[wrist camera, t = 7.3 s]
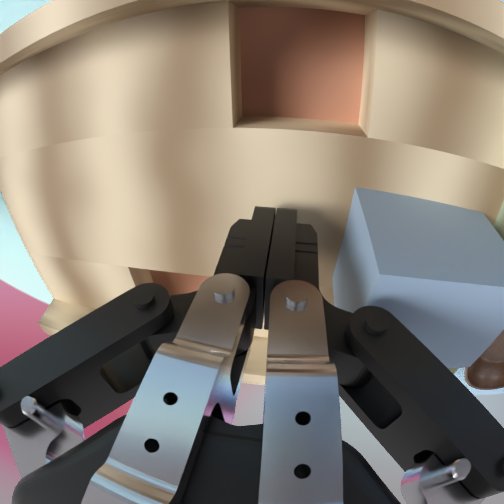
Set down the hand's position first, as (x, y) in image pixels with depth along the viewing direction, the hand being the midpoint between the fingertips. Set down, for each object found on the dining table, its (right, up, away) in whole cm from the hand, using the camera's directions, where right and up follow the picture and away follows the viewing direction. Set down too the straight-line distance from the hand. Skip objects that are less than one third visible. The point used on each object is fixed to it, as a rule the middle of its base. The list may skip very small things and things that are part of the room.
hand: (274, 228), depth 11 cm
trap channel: (-3, +2, +2) cm, 4 cm away
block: (+6, -1, 0) cm, 6 cm away
